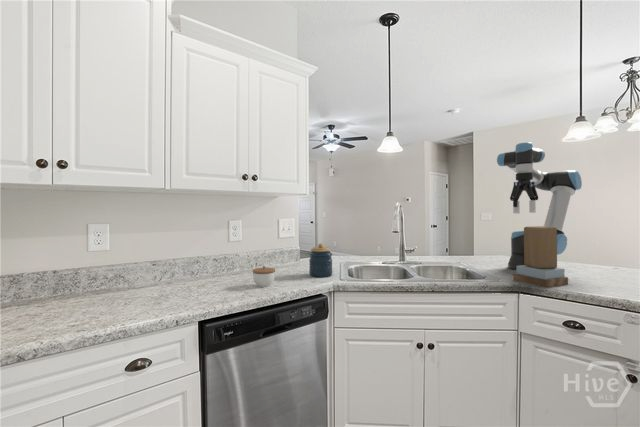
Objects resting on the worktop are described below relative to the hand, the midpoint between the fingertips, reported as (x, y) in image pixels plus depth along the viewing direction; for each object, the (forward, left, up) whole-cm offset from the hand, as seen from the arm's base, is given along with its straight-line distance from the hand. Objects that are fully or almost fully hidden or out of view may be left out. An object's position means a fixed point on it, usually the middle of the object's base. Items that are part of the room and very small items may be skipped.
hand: (524, 213), depth 162 cm
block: (+2, +9, -27) cm, 29 cm away
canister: (+97, -48, -34) cm, 113 cm away
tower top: (+3, +10, -31) cm, 32 cm away
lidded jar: (+131, -37, -34) cm, 140 cm away
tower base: (+3, +10, -35) cm, 36 cm away
